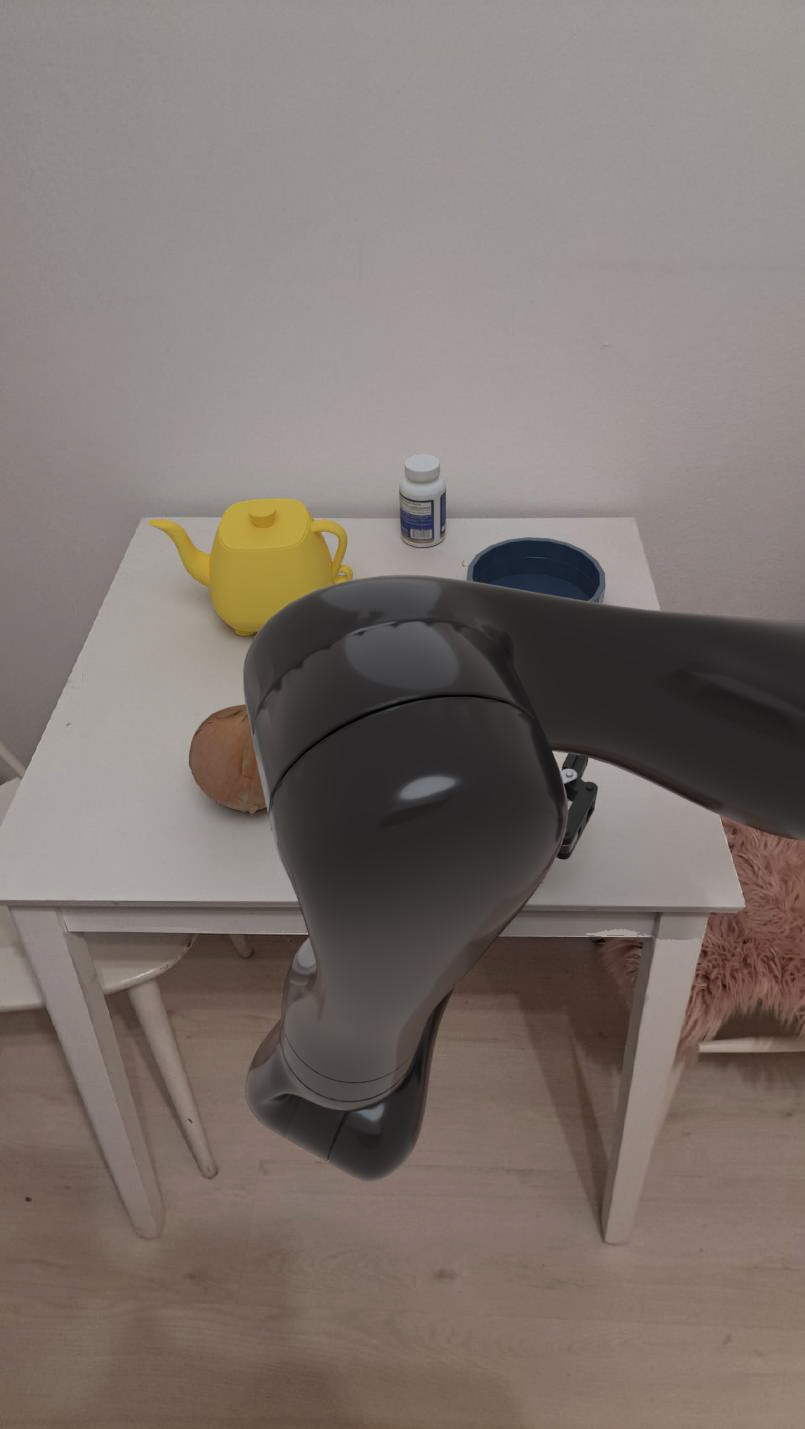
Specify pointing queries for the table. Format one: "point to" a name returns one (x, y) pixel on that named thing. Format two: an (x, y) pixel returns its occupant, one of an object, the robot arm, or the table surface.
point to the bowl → (540, 568)
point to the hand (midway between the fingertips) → (528, 729)
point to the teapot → (262, 559)
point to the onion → (227, 760)
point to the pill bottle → (422, 502)
